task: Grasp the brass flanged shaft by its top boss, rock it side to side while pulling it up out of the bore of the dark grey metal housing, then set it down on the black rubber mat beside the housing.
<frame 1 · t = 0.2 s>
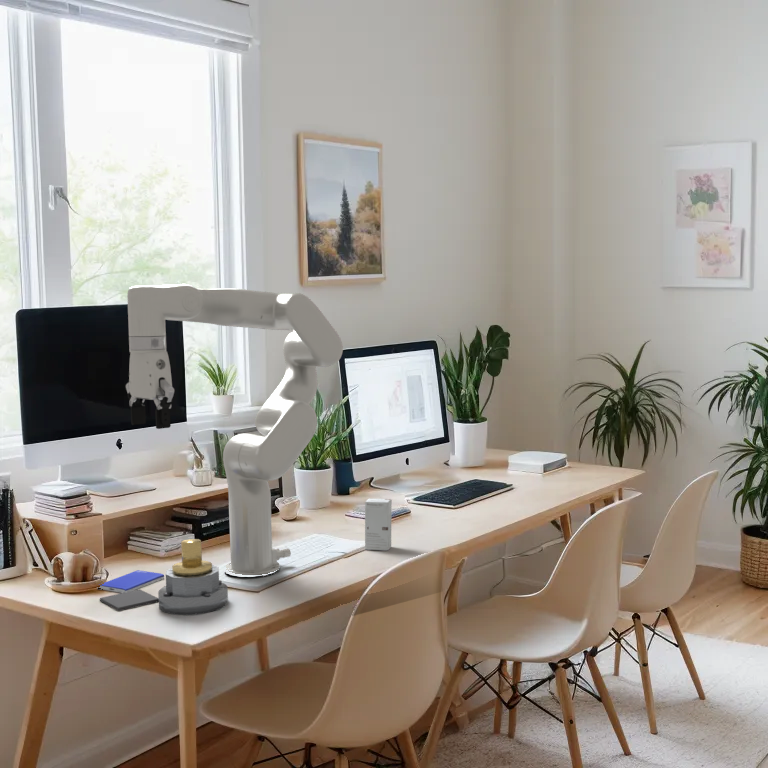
hand: (150, 426, 213), 36 cm above the table, fingers open, 9 cm apart
skincare box: (378, 549, 250), on the table
mat: (129, 601, 211), on the table
housing: (193, 603, 208), on the table
brass flanged shaft: (193, 589, 208), point 3 cm above the table, touching housing
hard drive: (131, 586, 224), on the table
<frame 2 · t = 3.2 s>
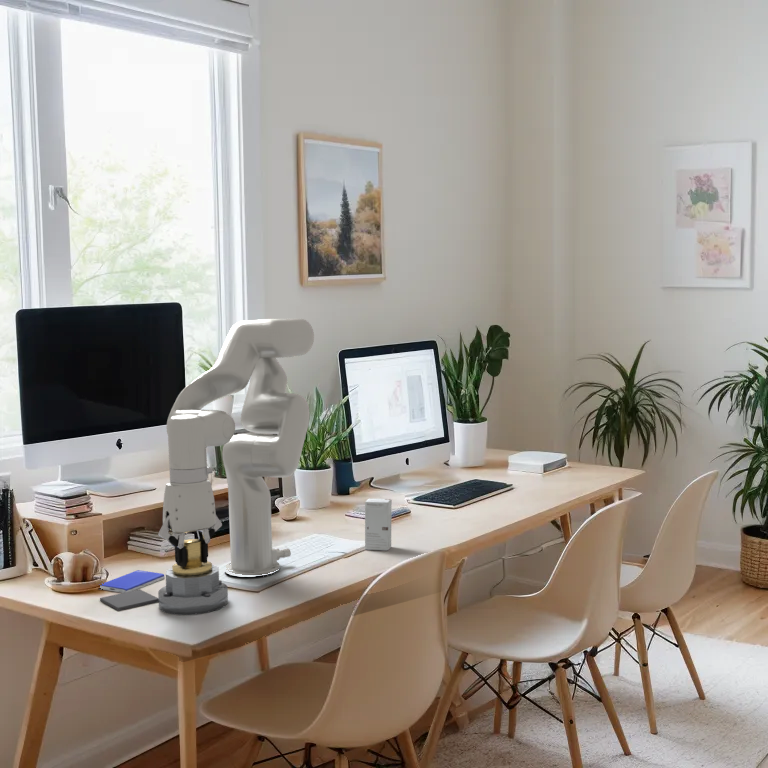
hand: (192, 563, 207), 9 cm above the table, fingers closed on brass flanged shaft, 4 cm apart
brass flanged shaft: (193, 589, 208), point 3 cm above the table, touching gripper, housing
everything else where it was.
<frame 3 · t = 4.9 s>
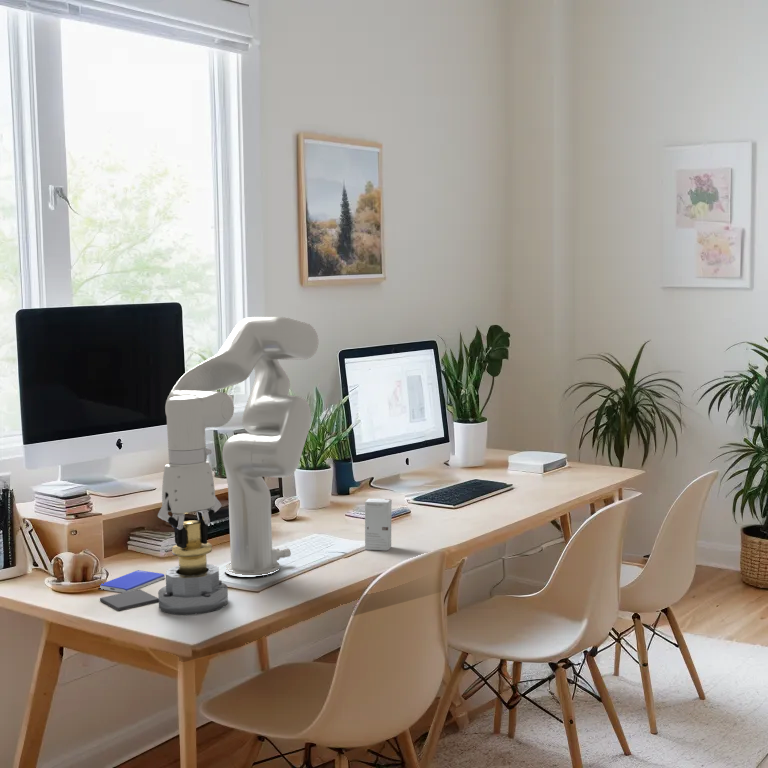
hand: (191, 543, 207), 12 cm above the table, fingers closed on brass flanged shaft, 4 cm apart
brass flanged shaft: (193, 571, 208), point 7 cm above the table, touching gripper
everything else where it was.
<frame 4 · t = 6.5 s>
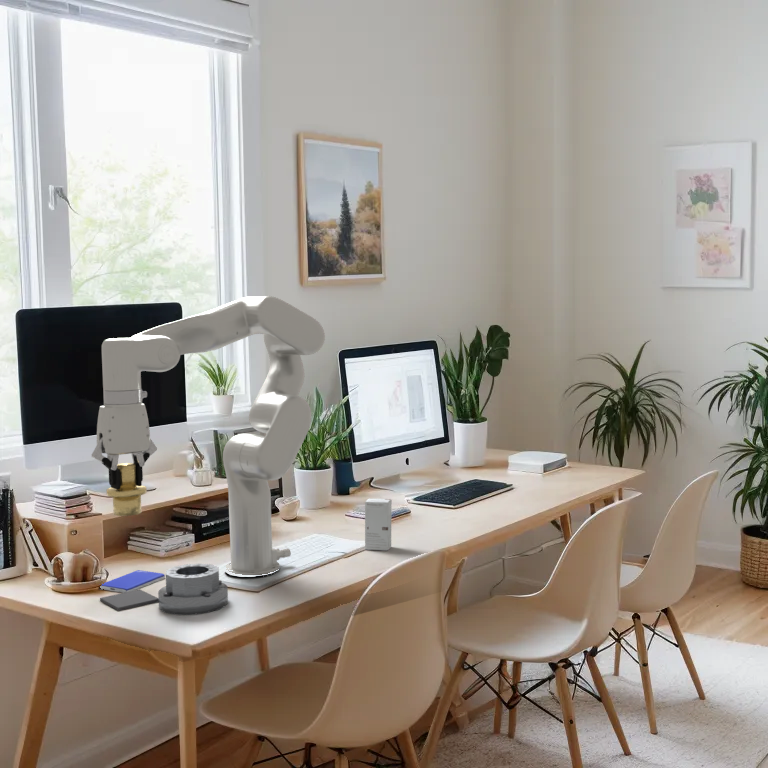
hand: (126, 485, 209), 24 cm above the table, fingers closed on brass flanged shaft, 4 cm apart
brass flanged shaft: (127, 513, 209), point 19 cm above the table, touching gripper
everything else where it was.
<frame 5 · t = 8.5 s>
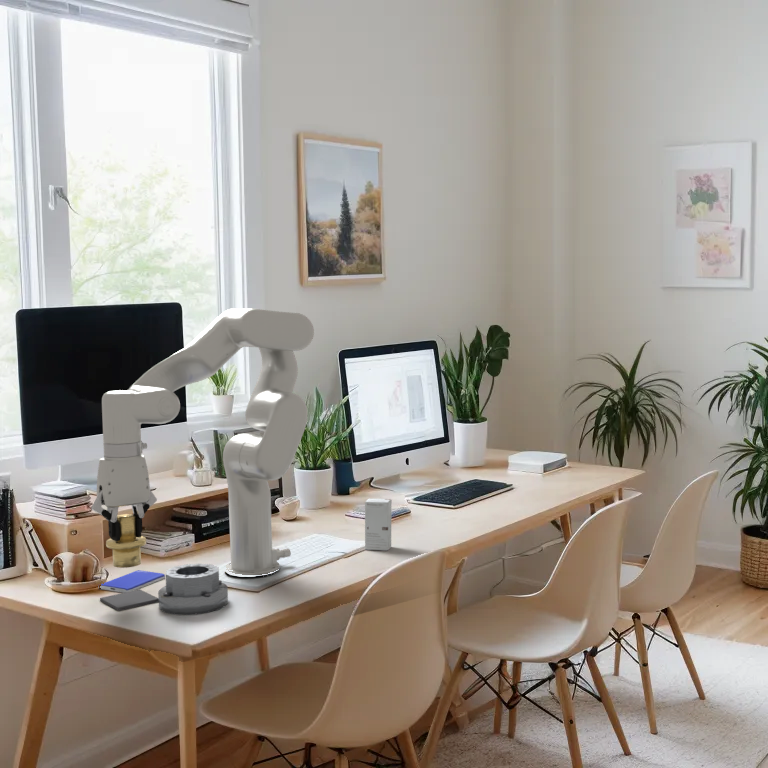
hand: (125, 537, 210), 14 cm above the table, fingers closed on brass flanged shaft, 4 cm apart
brass flanged shaft: (127, 564, 210), point 8 cm above the table, touching gripper
everything else where it was.
when the fingers open (8 cm above the table, at t = 10.0 s): brass flanged shaft drops 1 cm, resting on mat.
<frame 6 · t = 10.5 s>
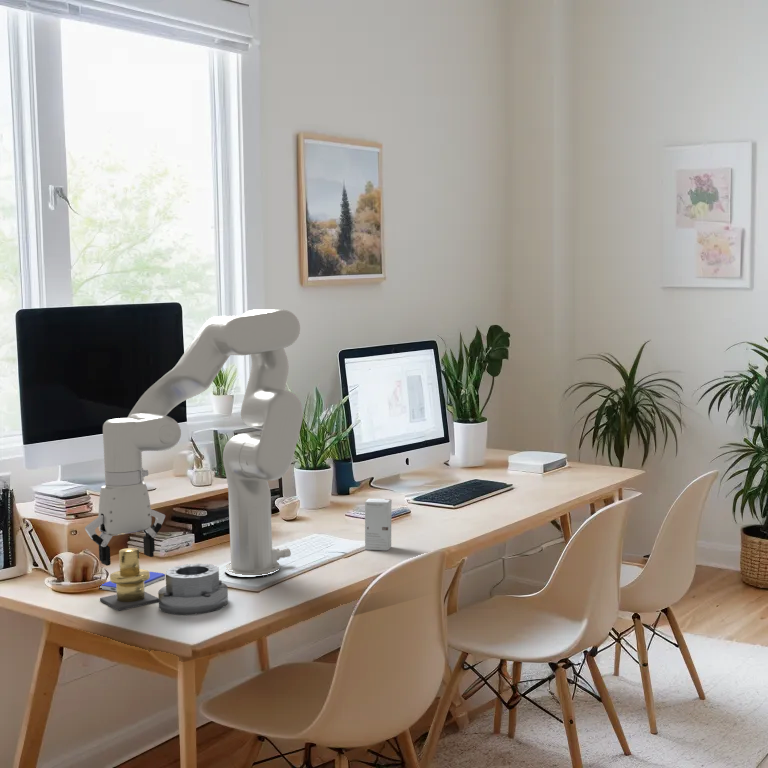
hand: (127, 559, 210), 9 cm above the table, fingers open, 9 cm apart
brass flanged shaft: (130, 598, 211), point 1 cm above the table, touching mat
everything else where it was.
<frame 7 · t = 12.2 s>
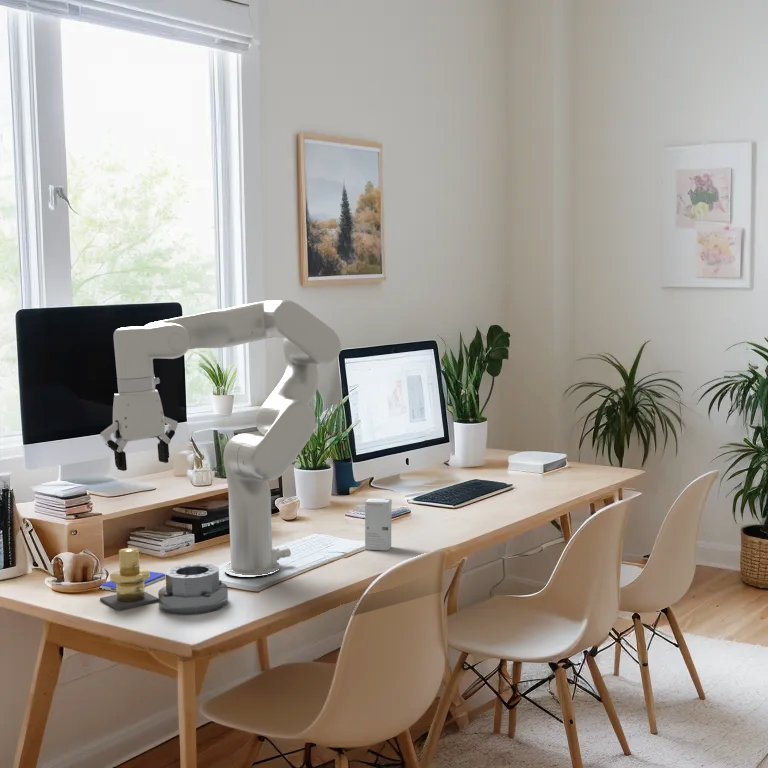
hand: (143, 465, 214), 27 cm above the table, fingers open, 9 cm apart
nothing on the table moved.
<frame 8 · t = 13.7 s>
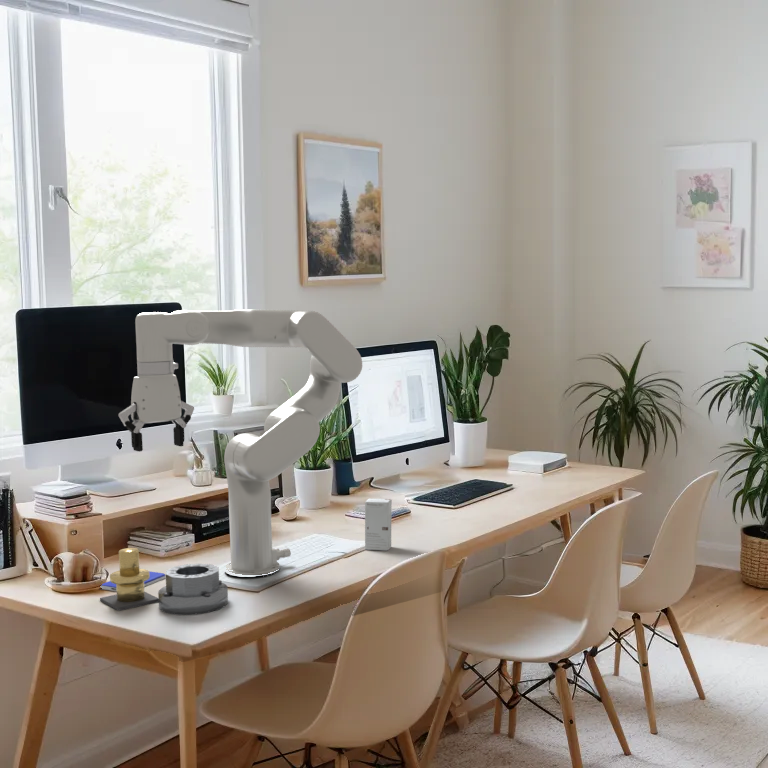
hand: (158, 448, 220), 30 cm above the table, fingers open, 9 cm apart
nothing on the table moved.
at the end: brass flanged shaft inside the target area on the mat (0.3 cm from its centre), point 0.7 cm above the mat's base; brass flanged shaft tilted 1°; the gripper is holding nothing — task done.
